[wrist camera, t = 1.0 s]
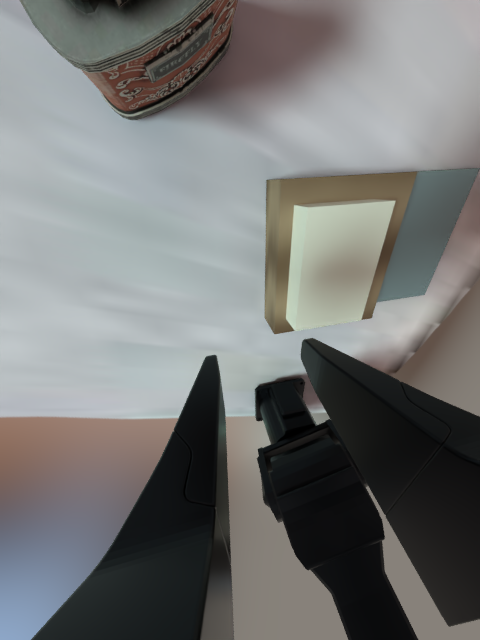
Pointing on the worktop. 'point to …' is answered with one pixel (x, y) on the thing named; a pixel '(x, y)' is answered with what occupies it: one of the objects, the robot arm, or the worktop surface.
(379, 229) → the rectangular block
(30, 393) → the worktop surface
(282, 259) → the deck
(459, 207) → the mat
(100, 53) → the lighter
